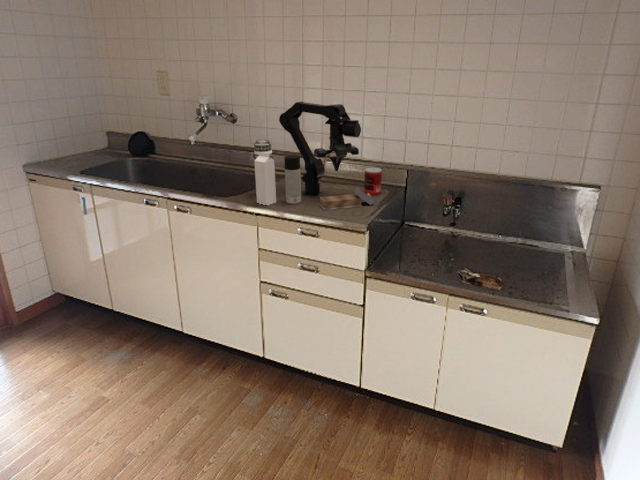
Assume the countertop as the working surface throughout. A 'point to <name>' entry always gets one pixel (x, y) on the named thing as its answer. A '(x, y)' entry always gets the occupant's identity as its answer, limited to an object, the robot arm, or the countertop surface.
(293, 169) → the spray can
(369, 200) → the lever cap
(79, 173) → the countertop surface
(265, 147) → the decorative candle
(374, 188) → the canned food
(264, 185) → the milk
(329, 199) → the body
